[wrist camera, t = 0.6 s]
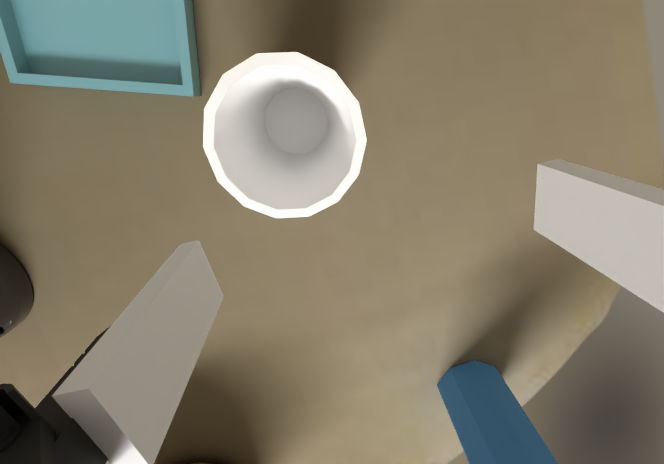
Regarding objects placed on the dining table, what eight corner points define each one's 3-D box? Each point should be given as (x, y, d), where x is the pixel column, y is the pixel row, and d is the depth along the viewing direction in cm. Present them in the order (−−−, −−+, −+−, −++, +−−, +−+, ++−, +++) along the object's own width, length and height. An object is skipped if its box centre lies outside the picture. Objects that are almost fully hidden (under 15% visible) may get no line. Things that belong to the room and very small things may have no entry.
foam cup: (252, 55, 28) (206, 31, 16) (354, 77, 29) (382, 70, 17) (243, 162, 31) (201, 206, 20) (334, 178, 33) (346, 229, 21)
